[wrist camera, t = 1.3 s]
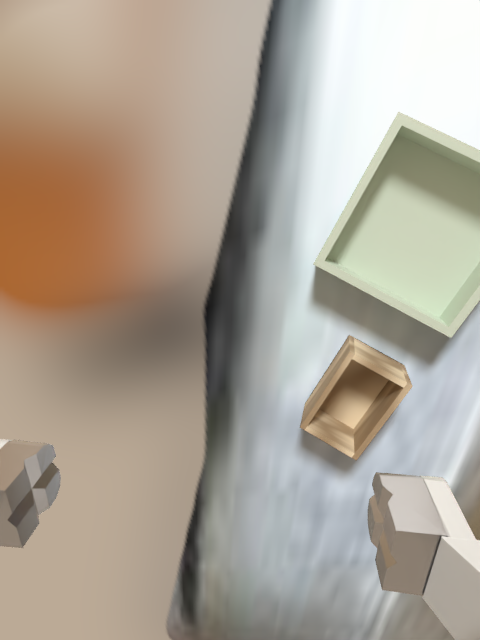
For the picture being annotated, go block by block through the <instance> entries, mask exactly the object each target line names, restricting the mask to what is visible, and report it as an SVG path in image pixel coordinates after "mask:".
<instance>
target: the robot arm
mask: <svg viewBox="0 0 480 640" xmlns="http://www.w3.org/2000/svg"><path fill="white" fill-rule="evenodd" d="M55 457H56V454H55V451H54V447H53V446H52V445H50V444H45V443H36V442H28V441H19V440H7V439H0V546H6V547H18V548H22V547H23V546H24V545H25V543H26V542H27V540H28V539H29V537H30V536H31V535H32V533H33V532H34V530H35V529H36V527H37V526H38V524H39V516H38V515H39V514H41V513H42V512H44V511H45V510H47V509H49V508H50V506H51V505H52V503H53V502H54V500H55V499H56V496H57V494H58V490H59V487H60V472H59V469H58V468H57V467H56V466H55V465H54V464H53V463H52V461H53V460H54V458H55ZM372 486H373V490H374V494H375V495H374V496H372V497H371V498H370V499H369V505H368V528H369V534H370V539H371V542H372V543H373V544H374V545H375V546H376V547H377V554H376V559H375V561H376V565H377V570H378V574H379V578H380V583H381V587H382V590H387V591H394V592H401V593H407V594H414V595H421V596H423V599H424V600H425V602H426V603H427V604H428V605H429V607H430V608H431V609H432V611H433V612H434V613H435V614H436V616H437V617H438V618H439V620H440V621H441V622H442V624H443V625H444V626H445V627H446V629H447V630H448V631H449V633H450V634H451V635H452V636H453V638H454V639H455V640H480V540H476V539H475V537H474V535H473V533H472V531H471V529H470V527H469V525H468V523H467V521H466V519H465V517H464V515H463V513H462V511H461V509H460V507H459V505H458V503H457V501H456V499H455V497H454V495H453V493H452V491H451V489H450V487H449V485H448V484H447V482H446V480H445V479H443V478H442V477H430V476H414V475H401V474H389V473H376V474H375V476H374V479H373V483H372Z"/></svg>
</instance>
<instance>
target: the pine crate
mask: <svg viewBox="0 0 480 640" xmlns="http://www.w3.org/2000/svg"><path fill="white" fill-rule="evenodd" d="M411 388H412V384H411V381H410V379H409V376H408V374H407V371H406V369H405V366H404V365H403V364H401V363H399V362H398V361H396V360H394V359H392V358H390V357H388V356H387V355H385V354H383V353H381V352H379V351H378V350H376V349H374V348H372V347H370V346H368V345H367V344H365V343H363V342H361V341H359V340H358V339H356V338H354V337H352V336H350V335H349V336H348V338H347V339H346V341H345V342H344V344H343V345H342V347H341V349H340V350H339V352H338V353H337V355H336V356H335V358H334V359H333V361H332V363H331V364H330V366H329V367H328V369H327V370H326V372H325V373H324V375H323V377H322V378H321V380H320V381H319V383H318V384H317V386H316V387H315V389H314V391H313V392H312V394H311V395H310V397H309V398H308V400H307V401H306V403H305V407H304V411H303V416H302V421H301V425H300V428H302V429H303V430H305V431H307V432H309V433H310V434H312V435H314V436H315V437H317V438H319V439H320V440H322V441H324V442H326V443H327V444H329V445H331V446H332V447H334V448H336V449H337V450H339V451H341V452H343V453H344V454H346V455H348V456H349V457H351V458H353V459H355V460H357V459H358V458H359V457H360V455H361V454H362V453H363V451H364V450H365V449H366V447H367V446H368V445H369V443H370V442H371V441H372V439H373V438H374V437H375V435H376V434H377V433H378V431H379V430H380V429H381V427H382V426H383V425H384V423H385V422H386V421H387V419H388V418H389V417H390V415H391V414H392V413H393V411H394V410H395V409H396V408H397V406H398V405H399V404H400V402H401V401H402V400H403V398H404V397H405V396H406V394H407V393H408V392H409V390H410V389H411Z"/></svg>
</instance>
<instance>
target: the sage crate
mask: <svg viewBox="0 0 480 640" xmlns="http://www.w3.org/2000/svg"><path fill="white" fill-rule="evenodd" d="M313 265H315V266H317V267H319V268H321V269H323V270H325V271H327V272H328V273H330V274H332V275H334V276H336V277H338V278H340V279H342V280H343V281H345V282H347V283H349V284H351V285H353V286H355V287H356V288H358V289H360V290H362V291H364V292H366V293H368V294H370V295H371V296H373V297H375V298H377V299H379V300H381V301H383V302H384V303H386V304H388V305H390V306H392V307H394V308H396V309H398V310H399V311H401V312H403V313H405V314H407V315H409V316H411V317H413V318H414V319H416V320H418V321H420V322H422V323H424V324H426V325H427V326H429V327H431V328H433V329H435V330H437V331H439V332H441V333H442V334H444V335H446V336H448V337H450V338H451V337H452V336H453V335H454V334H455V332H456V331H457V330H458V328H459V327H460V326H461V324H462V323H463V322H464V320H465V319H466V318H467V316H468V315H469V314H470V312H471V311H472V310H473V308H474V307H475V306H476V304H477V303H478V302H479V301H480V150H478V149H476V148H474V147H472V146H469V145H467V144H465V143H463V142H461V141H459V140H457V139H455V138H453V137H450V136H448V135H446V134H444V133H442V132H440V131H438V130H436V129H434V128H432V127H429V126H427V125H425V124H423V123H421V122H419V121H417V120H415V119H413V118H411V117H408V116H406V115H404V114H402V113H400V112H398V114H397V116H396V118H395V119H394V121H393V123H392V125H391V126H390V128H389V130H388V132H387V134H386V135H385V137H384V139H383V141H382V142H381V144H380V146H379V148H378V150H377V151H376V153H375V155H374V157H373V159H372V160H371V162H370V164H369V166H368V167H367V169H366V171H365V173H364V175H363V176H362V178H361V180H360V182H359V184H358V185H357V187H356V189H355V191H354V192H353V194H352V196H351V198H350V200H349V201H348V203H347V205H346V207H345V209H344V210H343V212H342V214H341V216H340V217H339V219H338V221H337V223H336V225H335V226H334V228H333V230H332V232H331V233H330V235H329V237H328V239H327V241H326V242H325V244H324V246H323V248H322V250H321V251H320V253H319V255H318V257H317V258H316V260H315V262H314V264H313Z"/></svg>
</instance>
